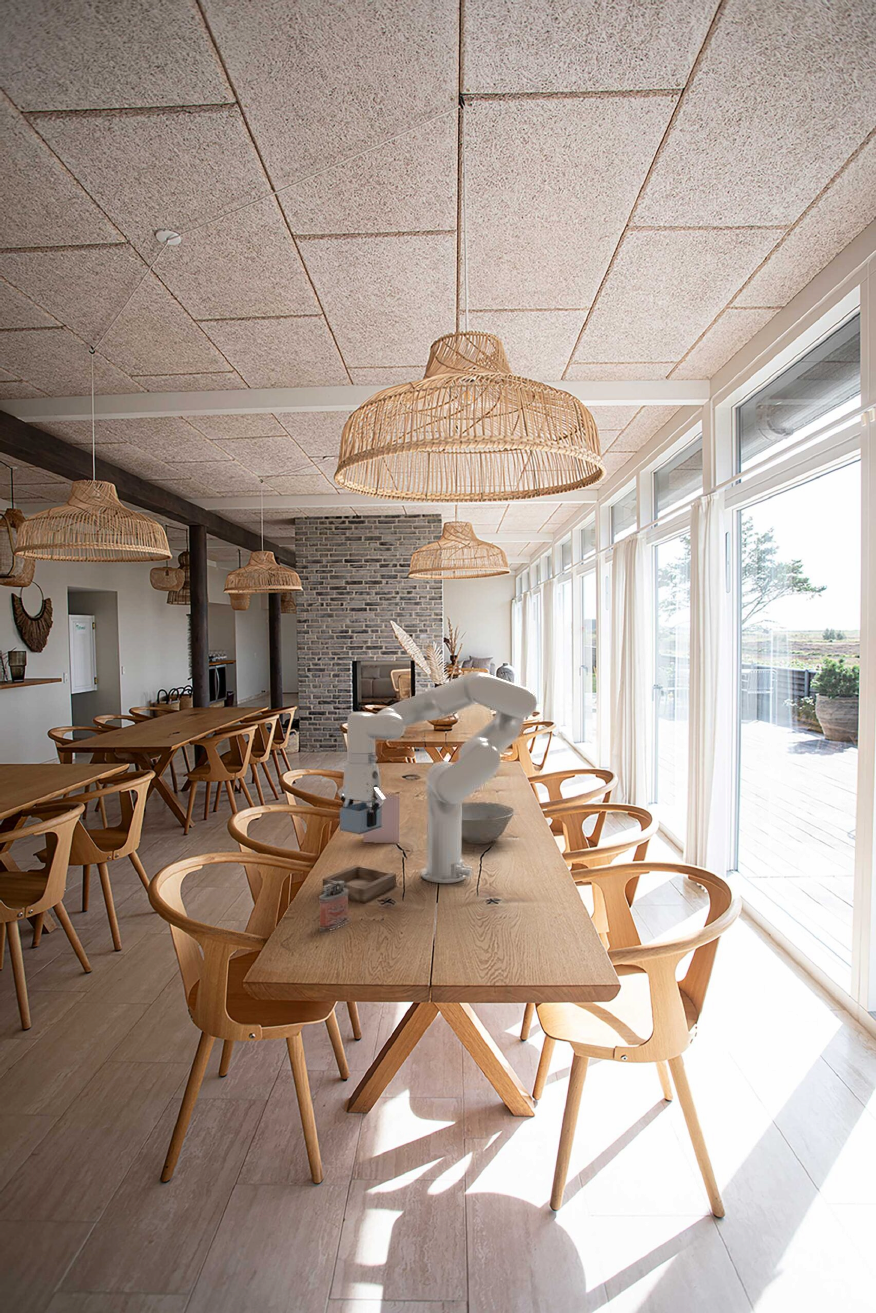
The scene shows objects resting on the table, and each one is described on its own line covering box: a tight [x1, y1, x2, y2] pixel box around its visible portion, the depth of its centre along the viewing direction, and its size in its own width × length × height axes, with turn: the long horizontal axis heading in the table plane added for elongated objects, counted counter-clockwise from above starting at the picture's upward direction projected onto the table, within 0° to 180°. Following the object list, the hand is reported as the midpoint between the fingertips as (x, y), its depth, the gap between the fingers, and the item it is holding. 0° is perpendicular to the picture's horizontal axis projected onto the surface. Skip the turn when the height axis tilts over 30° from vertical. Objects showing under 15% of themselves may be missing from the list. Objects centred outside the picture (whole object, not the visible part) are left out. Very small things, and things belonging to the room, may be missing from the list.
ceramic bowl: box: [462, 801, 515, 845], centre depth 232 cm, size 22×23×10 cm
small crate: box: [339, 801, 382, 835], centre depth 193 cm, size 7×9×6 cm
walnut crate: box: [322, 864, 397, 904], centre depth 187 cm, size 14×14×4 cm
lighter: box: [318, 881, 349, 932], centre depth 164 cm, size 8×3×10 cm, turn 141°
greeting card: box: [362, 792, 400, 844], centre depth 229 cm, size 11×7×15 cm, turn 56°
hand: (360, 823), depth 193 cm, fingers closed on small crate, 7 cm apart
